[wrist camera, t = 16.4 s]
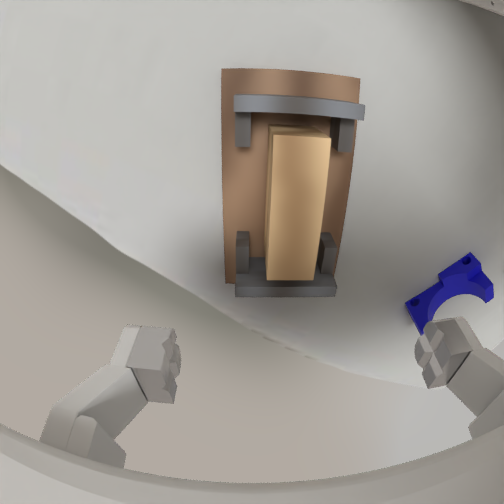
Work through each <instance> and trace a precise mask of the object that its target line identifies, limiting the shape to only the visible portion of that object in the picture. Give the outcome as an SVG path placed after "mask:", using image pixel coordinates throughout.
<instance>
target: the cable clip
mask: <svg viewBox="0 0 504 504" xmlns="http://www.w3.org/2000/svg"><path fill="white" fill-rule="evenodd" d="M438 276H439V280H440V281H439V282H438V283H436V284H435V285H433V286H432V287H430V288H429V289H427V290H425V291H424V292H422V293H421V294H419V295H417V296H416V297H414V298H412V299H411V300H409V301H407V302H406V303H405V304H406V306H407V309H408V311H409V314H410V316H411V318H412V320H413V321H414V323H415V325H416V327H417V329H418V331H419V333H420V335H421V336H422V335H423V334H424V331H423V328H424V327H425V325H426V323H428V322H429V321H432V319H433V316H434V314H435V312H436V310H437V309H438V308H439V306H440V305H441V304H442V303H443V302H445V301H446V300H447V299H449V298H451V297H453V296H456V295H460V294H472V295H475V296H478V297H479V298H481V299H482V300H483V301H484V302H485V303H487V302H488V301H490V300H491V299H492V298H494V292H493V283H492V282H491V281H490V280H489V278H488V277H487V276H486V275H485V274H484V273H483V272H482V268H481V263H480V262H479V261H478V260H477V259H476V258H475V256H474V255H473V254H472V253H471V252H470V253H468V254H467V255H466V256H464V257H463V258H461V259H460V260H458V261H457V262H456V263H454V264H453V265H451V266H450V267H448V268H447V269H445V270H444V271H442V272H441V273H439V274H438Z"/></svg>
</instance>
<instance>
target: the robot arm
mask: <svg viewBox="0 0 504 504" xmlns="http://www.w3.org/2000/svg"><path fill="white" fill-rule="evenodd" d="M459 1H463V2H466V3H469V4H472V5H475V6H478V7H481V8H483V9H486V10H489V11H491V12H494V13H496V14H499V15H501V16H504V0H459ZM423 331H424V334H423V335H422V336H421V337H419V338H418V340H417V342H416V344H415V352H414V353H415V358H416V361H417V363H418V365H420V366H421V367H422V368H423V372H422V375H423V378H424V380H425V383H426V385H427V388H428V389H430V388H434V387H439V386H444V385H447V387H448V388H449V389H450V390H451V391H452V392H453V393H454V394H455V395H456V396H457V397H458V398H459V399H460V400H461V401H462V402H463V403H464V404H465V405H466V406H467V407H468V408H469V409H470V410H471V411H472V412H473V413H474V414H475V415H476V416H477V418H476V419H475V420H474V421H473V422H471V423H470V425H469V427H468V428H469V431H470V433H471V436H472V440H469V441H467V442H464V443H462V444H460V445H457V446H455V447H452V448H449V449H446V450H444V451H441V452H438V453H435V454H432V455H429V456H426V457H423V458H420V459H416V460H413V461H409V462H406V463H402V464H399V465H395V466H391V467H387V468H383V469H378V470H373V471H369V472H364V473H359V474H353V475H347V476H341V477H334V478H327V479H318V480H308V481H296V482H280V483H226V482H209V481H198V480H187V479H180V478H172V477H165V476H159V475H153V474H148V473H142V472H137V471H133V470H128V469H124V463H125V458H126V453H125V451H124V450H123V449H122V448H121V447H120V446H119V445H118V444H117V443H116V442H115V441H114V439H115V438H116V437H117V436H118V435H119V434H120V433H121V432H122V431H123V429H124V428H125V427H126V426H127V425H128V424H129V423H130V422H131V421H132V420H133V419H134V418H135V416H136V415H137V414H138V413H139V412H140V411H141V410H142V409H143V408H144V407H145V406H146V404H147V403H148V402H147V401H150V402H159V403H171V404H174V399H175V394H176V389H177V385H176V382H175V378H176V377H177V376H178V375H179V373H180V367H181V354H180V348H179V346H178V345H177V344H175V342H176V338H177V336H176V333H175V330H174V329H171V328H161V327H149V326H138V325H128V324H127V325H126V326H125V327H124V329H123V331H122V334H121V337H120V339H119V341H118V344H117V346H116V349H115V352H114V354H113V357H112V359H111V362H110V364H109V365H104V366H102V367H101V368H100V369H99V370H97V371H96V372H95V373H93V374H92V375H91V376H90V377H88V378H87V379H86V380H84V381H83V382H82V383H81V384H79V385H78V386H77V387H75V388H74V389H73V390H72V391H70V392H69V393H68V394H66V395H65V396H64V397H63V398H61V399H60V400H59V401H58V402H56V403H55V404H54V405H53V406H52V408H51V411H50V413H49V416H48V418H47V421H46V424H45V426H44V429H43V432H42V435H41V438H40V440H39V441H37V440H35V439H32V438H30V437H28V436H25V435H23V434H21V433H19V432H17V431H15V430H12V429H11V428H8V427H6V426H5V425H2V424H0V504H504V360H503V359H501V358H500V357H498V356H497V355H496V354H494V353H493V352H491V351H490V350H488V349H487V348H483V347H482V345H481V343H480V342H479V340H478V338H477V337H476V335H475V333H474V332H473V330H472V328H471V327H470V325H469V324H468V322H467V321H466V319H465V318H463V317H456V318H448V319H441V320H434V321H429V322H428V323H426V325H425V327H424V328H423Z"/></svg>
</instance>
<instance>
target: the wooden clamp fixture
mask: <svg viewBox="0 0 504 504" xmlns="http://www.w3.org/2000/svg"><path fill="white" fill-rule="evenodd" d="M359 91H360V78H354V77H347V76H340V75H333V74H325V73H316V72H306V71H295V70H279V69H245V68H238V69H222V75H221V120H222V189H223V226H224V255H225V280H226V283H232V284H235V297H333V296H335V293H336V289H337V285H336V282H335V280H334V273H335V268H336V263H337V258H338V253H339V248H340V242H341V237H342V231H343V225H344V219H345V213H346V207H347V200H348V193H349V187H350V179H351V172H352V164H353V156H354V147H355V138H356V128H357V120H363V121H364V113H365V105H362V104H359ZM268 124H280V125H299V126H313V127H315V128H317V129H318V130H320V131H321V132H323V133H324V134H326V135H327V136H328V137H330V138H331V147H330V158H329V168H328V177H327V186H326V195H325V203H324V211H323V218H322V226H321V233H320V240H319V247H318V254H317V260H316V266H315V273H314V279H313V280H267V276H266V264H265V251H264V231H265V207H266V180H267V152H268Z"/></svg>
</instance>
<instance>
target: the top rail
mask: <svg viewBox="0 0 504 504" xmlns="http://www.w3.org/2000/svg"><path fill="white" fill-rule="evenodd" d="M330 147H331V138H330V137H328V136H327V135H326V134H324V133H323V132H321V131H320V130H318V129H317V128H315V127H313V126H299V125H280V124H268V152H267V180H266V207H265V231H264V251H265V264H266V276H267V280H313V279H314V273H315V266H316V260H317V254H318V247H319V240H320V233H321V226H322V218H323V211H324V203H325V195H326V186H327V177H328V168H329V158H330Z"/></svg>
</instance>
